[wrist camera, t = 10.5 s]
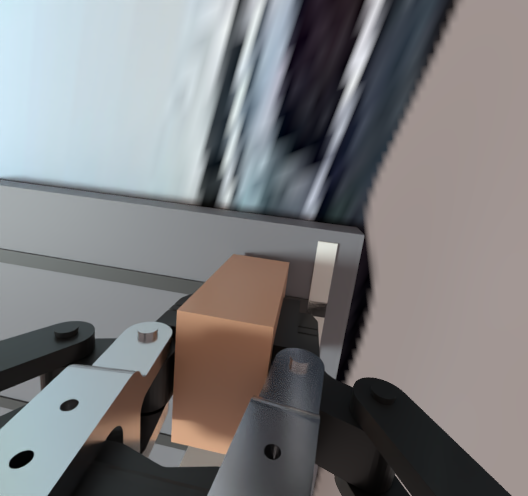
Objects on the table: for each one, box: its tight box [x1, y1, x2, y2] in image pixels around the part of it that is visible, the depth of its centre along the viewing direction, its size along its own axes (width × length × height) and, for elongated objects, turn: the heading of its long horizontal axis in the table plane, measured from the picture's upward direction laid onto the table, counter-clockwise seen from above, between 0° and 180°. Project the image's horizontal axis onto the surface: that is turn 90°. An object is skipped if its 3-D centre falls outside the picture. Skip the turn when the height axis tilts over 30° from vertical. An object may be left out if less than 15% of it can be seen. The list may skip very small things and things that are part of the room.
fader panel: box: [0, 180, 365, 496], centre depth 16 cm, size 20×16×2 cm
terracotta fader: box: [171, 254, 289, 455], centre depth 10 cm, size 2×4×6 cm, turn 173°
